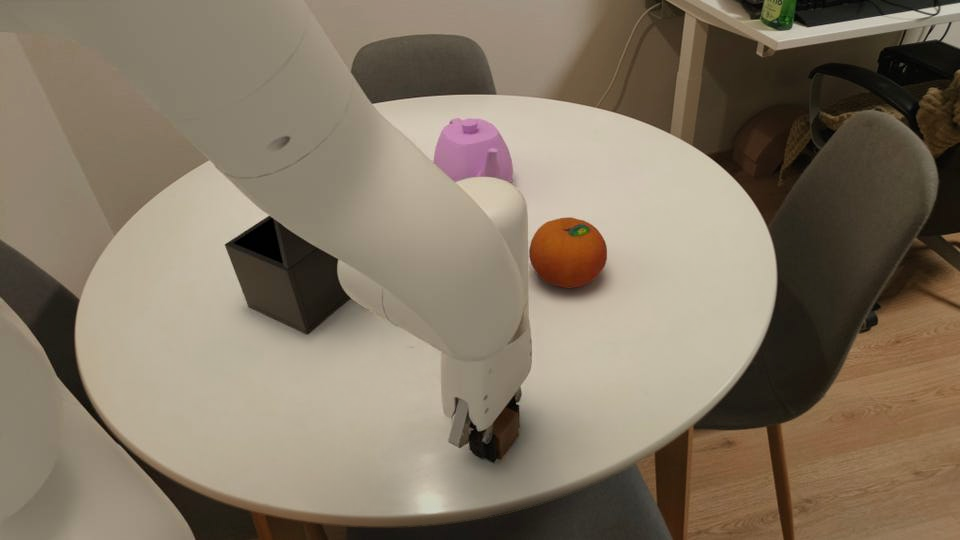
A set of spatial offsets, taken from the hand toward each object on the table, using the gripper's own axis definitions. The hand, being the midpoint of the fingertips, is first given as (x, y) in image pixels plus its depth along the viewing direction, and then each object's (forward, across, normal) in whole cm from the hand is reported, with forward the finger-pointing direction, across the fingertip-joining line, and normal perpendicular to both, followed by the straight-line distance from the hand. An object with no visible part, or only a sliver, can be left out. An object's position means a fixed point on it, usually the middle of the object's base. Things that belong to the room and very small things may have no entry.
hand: (495, 438), depth 67 cm
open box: (0, -9, -36) cm, 37 cm away
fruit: (0, -29, -6) cm, 30 cm away
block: (0, 0, 0) cm, 0 cm away
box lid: (-17, -9, -30) cm, 36 cm away
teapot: (0, -44, -31) cm, 54 cm away
